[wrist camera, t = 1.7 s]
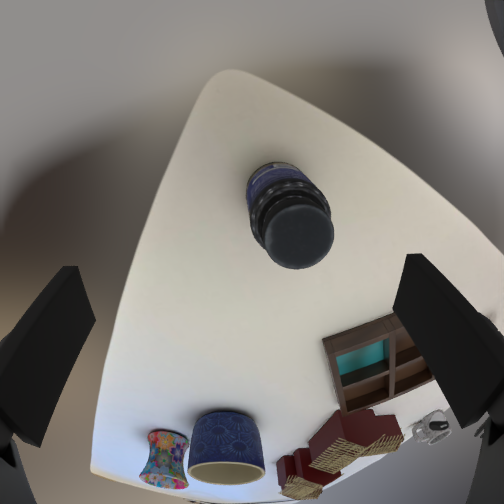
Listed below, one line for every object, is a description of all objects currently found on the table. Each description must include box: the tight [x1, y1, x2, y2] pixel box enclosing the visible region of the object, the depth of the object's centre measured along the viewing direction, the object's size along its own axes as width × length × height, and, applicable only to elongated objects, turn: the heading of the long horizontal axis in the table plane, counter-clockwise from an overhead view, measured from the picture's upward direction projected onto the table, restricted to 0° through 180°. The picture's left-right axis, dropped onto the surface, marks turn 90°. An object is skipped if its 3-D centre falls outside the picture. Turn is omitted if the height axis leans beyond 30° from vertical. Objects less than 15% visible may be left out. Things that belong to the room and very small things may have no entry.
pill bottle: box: [246, 162, 334, 269], centre depth 24 cm, size 6×6×11 cm
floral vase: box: [139, 431, 189, 489], centre depth 46 cm, size 12×9×11 cm
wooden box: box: [322, 313, 435, 417], centre depth 40 cm, size 18×18×3 cm
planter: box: [187, 412, 265, 485], centre depth 42 cm, size 12×12×11 cm
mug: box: [412, 410, 452, 445], centre depth 52 cm, size 10×7×7 cm, turn 93°
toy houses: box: [276, 409, 405, 500], centre depth 54 cm, size 45×20×10 cm, turn 164°
